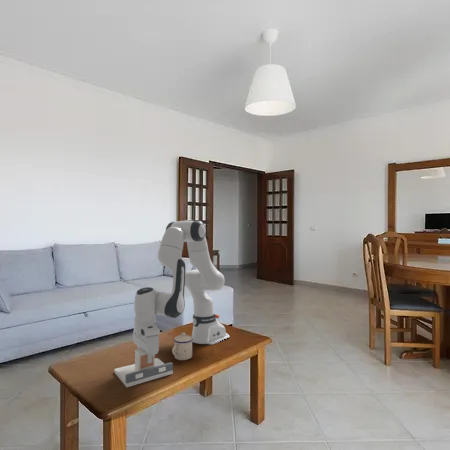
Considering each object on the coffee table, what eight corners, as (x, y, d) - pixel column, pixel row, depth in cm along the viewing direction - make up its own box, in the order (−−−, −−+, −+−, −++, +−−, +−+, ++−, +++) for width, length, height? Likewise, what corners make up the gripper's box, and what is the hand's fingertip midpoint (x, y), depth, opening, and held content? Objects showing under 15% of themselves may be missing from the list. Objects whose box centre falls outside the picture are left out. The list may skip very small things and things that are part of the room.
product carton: (150, 366, 139) (150, 346, 139) (154, 370, 135) (154, 349, 135) (134, 370, 135) (135, 349, 135) (139, 375, 131) (139, 353, 131)
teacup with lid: (182, 351, 160) (182, 328, 160) (196, 355, 155) (196, 331, 155) (165, 359, 150) (165, 335, 150) (180, 364, 145) (180, 339, 145)
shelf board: (157, 361, 149) (157, 351, 149) (173, 374, 135) (173, 363, 135) (114, 372, 137) (114, 362, 137) (126, 387, 124) (127, 376, 124)
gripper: (129, 322, 142) (129, 352, 142) (147, 334, 125) (146, 369, 125) (142, 319, 146) (142, 349, 145) (161, 331, 129) (161, 365, 129)
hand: (144, 358), depth 135 cm, fingers open, 8 cm apart
